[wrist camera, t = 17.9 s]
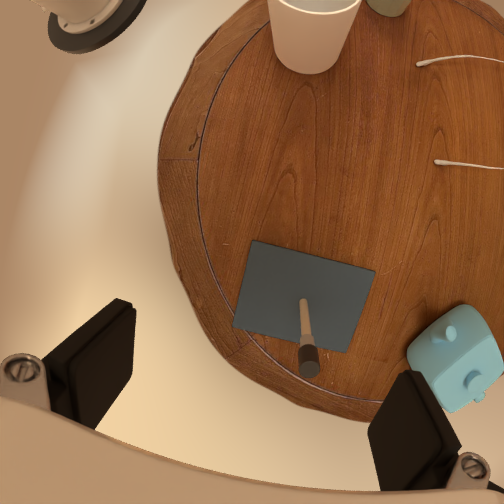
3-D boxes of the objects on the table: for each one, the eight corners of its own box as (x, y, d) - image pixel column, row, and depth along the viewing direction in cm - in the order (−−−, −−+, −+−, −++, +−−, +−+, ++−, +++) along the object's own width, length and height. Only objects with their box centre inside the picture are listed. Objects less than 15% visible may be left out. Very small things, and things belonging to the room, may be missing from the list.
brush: (294, 306, 40) (296, 376, 26) (298, 293, 40) (302, 359, 25) (308, 309, 40) (316, 380, 26) (312, 297, 40) (323, 363, 25)
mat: (232, 325, 43) (231, 326, 42) (252, 239, 40) (252, 240, 39) (345, 351, 42) (345, 353, 41) (374, 270, 39) (375, 272, 38)
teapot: (448, 265, 38) (492, 293, 26) (487, 347, 39) (522, 384, 28) (378, 321, 40) (404, 366, 29) (429, 394, 42) (453, 440, 31)
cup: (352, 54, 33) (385, -8, 17) (301, 86, 35) (308, 31, 19) (311, 10, 32) (320, -64, 16) (260, 39, 34) (243, -30, 18)
